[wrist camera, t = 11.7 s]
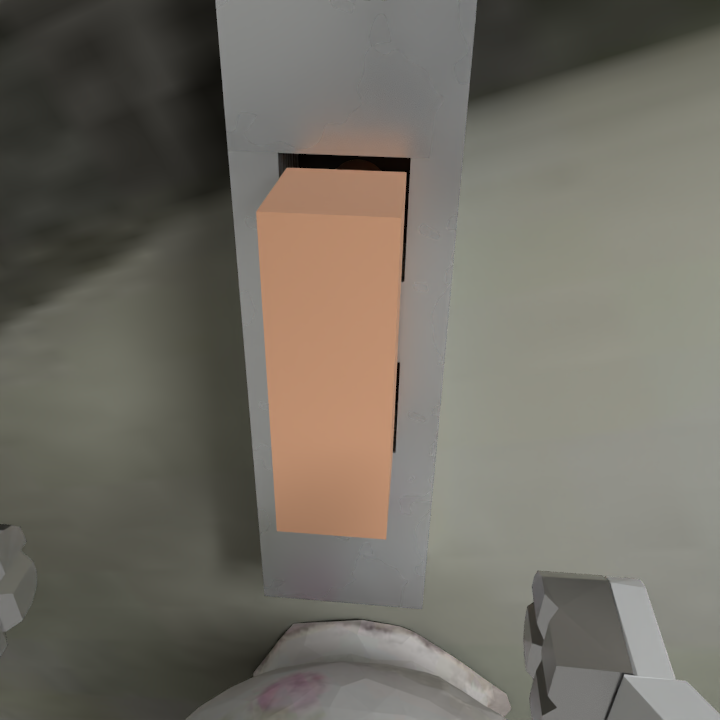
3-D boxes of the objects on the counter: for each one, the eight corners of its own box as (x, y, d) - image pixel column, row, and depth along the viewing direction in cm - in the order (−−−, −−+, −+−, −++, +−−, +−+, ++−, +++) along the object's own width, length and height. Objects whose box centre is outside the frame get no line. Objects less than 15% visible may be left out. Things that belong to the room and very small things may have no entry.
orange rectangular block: (308, 136, 20) (256, 211, 14) (410, 140, 20) (401, 217, 14) (314, 391, 25) (276, 531, 19) (396, 396, 24) (386, 539, 18)
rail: (234, -188, 16) (197, -216, 14) (485, -188, 16) (496, -217, 13) (279, 538, 28) (264, 595, 26) (423, 549, 28) (422, 609, 25)
